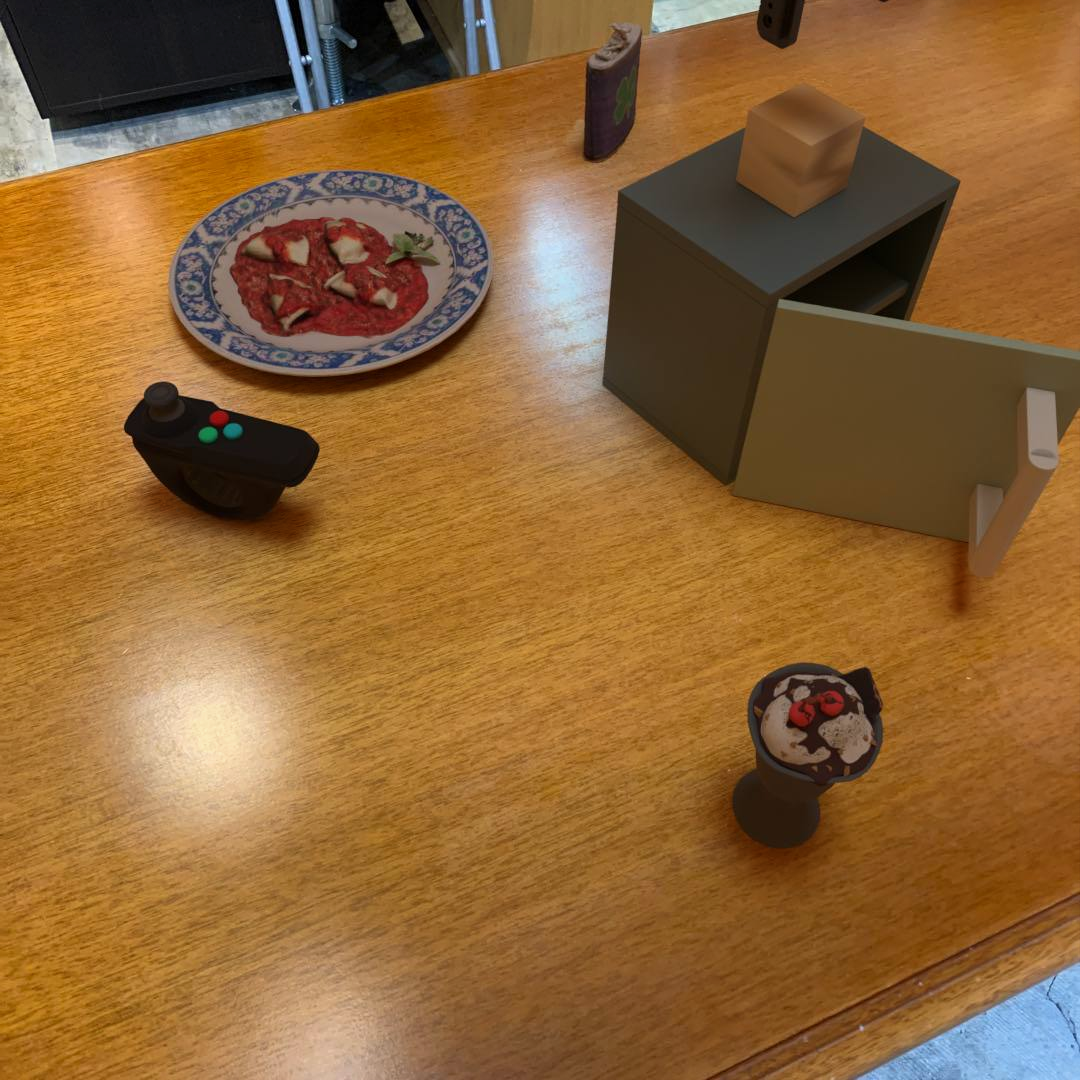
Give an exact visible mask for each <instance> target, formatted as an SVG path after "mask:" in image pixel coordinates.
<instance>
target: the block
mask: <svg viewBox="0 0 1080 1080" xmlns="http://www.w3.org/2000/svg"><path fill="white" fill-rule="evenodd" d="M866 118H867V117H866V115H864V114H863V113H861V112H859V111H857V110H855V109H853V108H852V107H850V106H848V105H846V104H844V103H843V102H841V101H839V100H837V99H835V98H833V97H831V96H830V95H828V94H827V93H824V92H823V91H821V90H819V89H817V88H816V87H813V86H811V85H810V84H808V83H807V82H801V83H799V84H797V85H795V86H793V87H791V88H789V89H787V90H785V91H783V92H781V93H778V94H776V95H774V96H772V97H770V98H769V99H767V100H766V99H765V101H763V102H760V103H758V104H757V105H754V106H752V107H750V108H749V109H748V111H747V117H746V123H745V127H744V128H745V133H744V139H743V144H742V150H741V155H740V161H739V166H738V172H737V177H736V181H737V182H738V183H740V184H741V185H743V186H744V187H746V188H748V189H749V190H751V191H752V192H754V193H756V194H757V195H759V196H760V197H762V198H763V199H765V200H767V201H768V202H770V203H771V204H773V205H774V206H776V207H778V208H779V209H781V210H782V211H784V212H786V213H787V214H789V215H790V216H792V217H796V216H798V215H800V214H802V213H803V212H805V211H807V210H809V209H810V208H812V207H814V206H816V205H818V204H819V203H821V202H823V201H825V200H826V199H828V198H830V197H832V196H834V195H835V194H837V193H839V192H841V191H842V190H844V189H846V188H847V184H848V180H849V177H850V173H851V169H852V166H853V162H854V158H855V155H856V151H857V148H858V144H859V140H860V137H861V133H862V129H863V126H864V125H865V121H866ZM864 127H865V126H864Z"/></svg>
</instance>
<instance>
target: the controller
mask: <svg viewBox="0 0 1080 1080" xmlns="http://www.w3.org/2000/svg"><path fill="white" fill-rule="evenodd" d="M179 393H180V391H179V389H178V387H177V386H176V385H175V384H174V383H173V382H170V381H157V382H154V383H152V384H149V386H148V387H147V388H146V389H145V390H144V393H143V398H142V399H140V400H139V401H138V403H136V405H135V406H134V407H133V409H132V410H131V411H130V413H129V415H128V416H127V418H126V419H125V422H124V424H123V432H124V433H125V434H126V435H128V436H129V437H131V439H132V445H133V447H134V449H135V450H136V452H137V453H138V454H139V456H140V457H141V458H142V460H143V462H145V464H146V466H148V468H149V470H150V471H151V473H152V474H153V475H154V477H155V478H156V479H157V480H158V481H159V483H160V484H161V485H162V486H163V487H164V488H166V489H167V490H168V492H170V493H171V494H173V496H175V497H176V498H178V499H179V500H180V501H182V502H183V503H185V504H186V505H189V506H190V507H192V508H193V509H195V510H197V511H199V512H202V513H204V514H206V515H208V516H212V517H214V518H216V519H222V520H226V521H227V520H228V521H238V522H239V521H241V522H243V521H251V520H255V519H259V518H261V517H263V516H265V515H267V514H269V513H270V512H271V511H272V510H273V509H274V508H275V506H276V505H277V503H278V501H279V500H280V499H281V497H282V495H283V494H284V491H285V489H287V488H289V489H290V488H296V487H298V486H299V485H301V484H302V483H303V482H304V481H305V480H306V479H307V477H308V476H309V474H310V473H311V471H312V470H313V468H314V466H315V464H316V462H317V460H318V458H319V454H320V448H321V447H320V445H319V443H318V442H317V440H315V439H314V437H312V436H311V434H310V433H309V432H307V431H306V430H305V429H301V428H297V427H294V426H290V425H287V424H284V423H279V422H275V421H271V420H268V419H263V418H260V417H256V416H251V415H248V414H244V413H240V412H237V411H234V410H233V411H232V410H228V409H225V408H221V407H219V406H218V405H217V404H216V403H215V402H214V401H211V400H208V399H207V400H206V399H201V398H196V397H190V396H185V395H181V394H179Z"/></svg>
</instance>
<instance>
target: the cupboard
mask: <svg viewBox="0 0 1080 1080" xmlns="http://www.w3.org/2000/svg"><path fill="white" fill-rule="evenodd" d="M744 133H745V127H743V128H741V129H738V130H737V131H734V132H733V133H731V134H728V135H727V136H725V137H722V138H721V139H718V140H716V141H715V142H713V143H711V144H708V145H707V146H704V147H703V148H700V149H699V150H697V151H694V152H692V153H691V154H689V155H687V156H685V157H683V158H680V159H678V160H677V161H675V162H673V163H671V164H668V165H667V166H665V167H663V168H661V169H659V170H656V171H655V172H652V173H651V174H649V175H646V176H644V177H642V178H640V179H639V180H637V181H634V182H632V183H630V184H629V185H627V186H624V187H622V188H620V189H618V191H617V200H616V201H617V202H616V203H617V205H616V206H617V207H616V214H615V215H616V217H615V226H614V227H615V228H614V239H613V252H612V263H611V264H612V265H611V276H610V278H611V279H610V287H609V288H610V289H609V301H608V313H607V323H606V335H605V336H606V337H605V348H604V362H603V373H602V376H603V377H602V381H601V382H602V383H601V385H602V387H604V389H606V390H607V391H608V392H610V393H611V394H612V395H613V396H614V397H616V399H618V400H619V401H621V402H622V403H623V404H624V405H626V406H627V407H628V408H629V409H630V410H632V411H633V413H635V414H637V416H639V417H640V418H641V419H643V420H644V421H646V423H647V424H648V425H650V426H651V427H653V428H654V429H655V430H656V431H657V432H658V433H660V434H661V435H662V436H663V437H664V438H666V439H667V440H668V441H669V442H670V443H672V444H673V445H674V446H676V447H677V448H678V449H679V450H681V451H682V452H683V453H684V454H685V455H686V456H688V457H689V458H690V459H691V460H692V461H694V462H695V463H696V464H698V465H699V466H700V467H701V468H703V470H705V471H706V472H708V473H709V474H710V475H711V476H712V477H714V479H716V480H717V481H719V483H721V484H722V485H723V486H725V487H727V486H729V485H730V484H732V483H734V482H735V480H736V475H737V471H738V467H739V463H740V459H741V454H742V450H743V446H744V442H745V438H746V434H747V429H748V425H749V421H750V417H751V413H752V408H753V404H754V400H755V396H756V392H757V388H758V383H759V379H760V375H761V371H762V367H763V362H764V358H765V354H766V350H767V346H768V342H769V337H770V333H771V329H772V325H773V321H774V316H775V312H776V308H777V304H778V300H779V299H783V300H789V301H795V302H800V303H806V304H812V305H818V306H824V307H829V308H835V309H841V310H847V311H852V312H858V313H864V314H870V315H876V316H881V317H887V318H893V319H899V320H904V321H910V322H911V319H912V317H913V314H914V310H915V307H916V305H917V302H918V300H919V297H920V294H921V291H922V288H923V287H924V283H925V280H926V278H927V275H928V272H929V270H930V266H931V264H932V261H933V258H934V255H935V253H936V251H937V247H938V245H939V242H940V239H941V237H942V234H943V231H944V228H945V226H946V224H947V220H948V218H949V215H950V212H951V209H952V207H953V204H954V201H955V199H956V196H957V193H958V191H959V188H960V184H961V182H962V180H961V179H958V178H957V177H955V176H953V175H952V174H949V173H948V172H946V171H944V170H943V169H941V168H939V167H937V166H936V165H933V164H932V163H930V162H928V161H926V160H924V159H923V158H921V157H919V156H918V155H915V154H914V153H912V152H910V151H908V150H907V149H905V148H903V147H901V146H899V145H898V144H896V143H894V142H892V141H890V140H889V139H887V138H886V137H884V136H881V135H880V134H878V133H876V132H875V131H873V130H871V129H869V128H867V127H866V126H863V129H862V133H861V137H860V140H859V144H858V148H857V151H856V155H855V158H854V162H853V166H852V169H851V173H850V177H849V180H848V184H847V188H846V189H844V190H842V191H841V192H839V193H837V194H835V195H834V196H832V197H830V198H828V199H826V200H825V201H823V202H821V203H819V204H818V205H816V206H814V207H812V208H810V209H809V210H807V211H805V212H803V213H802V214H800V215H798V216H796V217H792V216H790V215H789V214H787V213H786V212H784V211H782V210H781V209H779V208H778V207H776V206H774V205H773V204H771V203H770V202H768V201H767V200H765V199H763V198H762V197H760V196H759V195H757V194H756V193H754V192H752V191H751V190H749V189H748V188H746V187H744V186H743V185H741V184H740V183H738V182H737V181H736V177H737V172H738V166H739V161H740V155H741V150H742V144H743V139H744Z"/></svg>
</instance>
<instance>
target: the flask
mask: <svg viewBox="0 0 1080 1080" xmlns="http://www.w3.org/2000/svg"><path fill="white" fill-rule="evenodd" d="M608 26H609V27H611V28H613V30H614V31H613V32H612V34H611V35H610V37H609V39H608V41H607V43H605V45H604V46H603V47H602V48H600V50H596V51H595V53H594V54H591V55H590V56H589V58H587V61H586V66H585V85H584V86H585V88H584V89H585V92H584V93H585V94H584V98H585V99H584V102H585V103H584V104H585V105H584V120H583V121H584V128H583V150H582V156H583V158H584V160H586V161H589V162H592V163H600V162H602V161H606V160H607V159H609V158H610V157H611V156H613V155H614V153H616V152H617V151H618V149H620V148H621V147H622V145H623V143H625V141H626V139H627V138H628V136H629V133H630V132H631V130H632V129H633V126H634V124H635V120H636V111H637V110H636V105H637V97H638V81H639V69H640V63H641V62H640V60H641V59H640V57H641V48H642V36H643V29H642V27H641V25H638V24H637V23H632V22H621V23H620V24H618V22H616V21H615V22H613V23H609V25H608Z"/></svg>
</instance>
